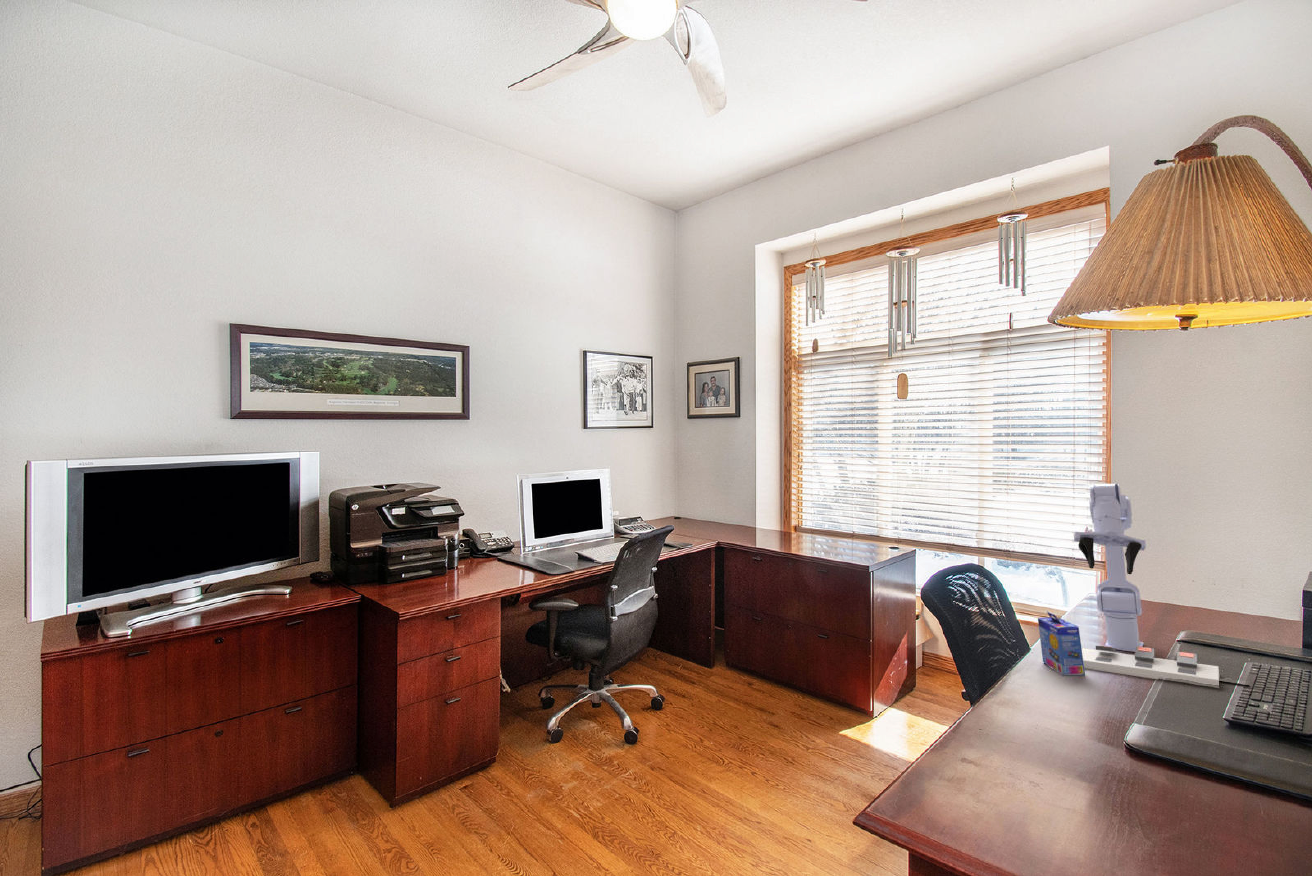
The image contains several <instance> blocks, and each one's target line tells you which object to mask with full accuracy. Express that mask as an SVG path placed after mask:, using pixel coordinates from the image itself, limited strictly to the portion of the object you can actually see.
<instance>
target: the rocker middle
mask: <svg viewBox="0 0 1312 876" xmlns="http://www.w3.org/2000/svg"><path fill="white" fill-rule="evenodd" d="M1134 655H1135V660H1140V661H1147V662H1154V658H1155V648H1152V647H1145V646H1143V647H1138V646H1136V651H1135V652H1134Z"/></svg>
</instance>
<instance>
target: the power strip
mask: <svg viewBox="0 0 1312 876" xmlns="http://www.w3.org/2000/svg"><path fill="white" fill-rule="evenodd" d="M1082 655H1083V662H1084V669H1089V670H1093V671H1100V672H1107V673H1114V674H1119V675H1126V676H1133V677H1139V678H1147V679H1152V680H1153V679H1154V680H1158V678H1159V677H1163V678H1172V679H1183V680H1189V681H1194V682H1198V683H1203V684H1212V685H1219V678H1221V679H1230V680H1231V679H1232V678H1227V677H1221V676H1220V667H1219V666H1218V665H1211V664H1210V665H1209V664H1204V663H1203V664H1202V663H1197V668H1190V667H1183V666H1177V660H1173V659H1166V658H1159V657H1154V662H1147V661H1140V660H1135V654H1130V653H1128V654H1127V653H1121V652H1111V651H1103V650H1096V649H1092V648H1084V647H1082Z"/></svg>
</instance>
